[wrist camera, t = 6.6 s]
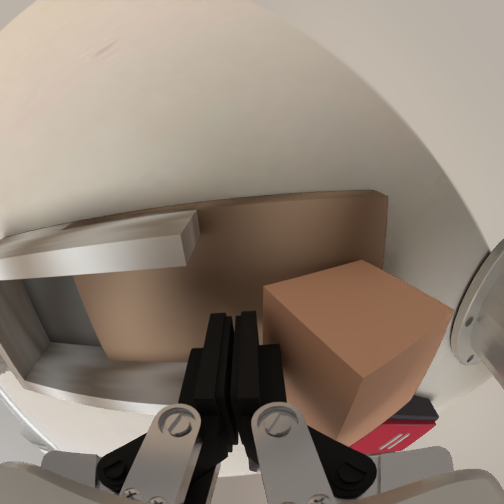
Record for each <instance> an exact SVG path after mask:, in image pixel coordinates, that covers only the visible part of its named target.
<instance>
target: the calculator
mask: <svg viewBox="0 0 504 504" xmlns="http://www.w3.org/2000/svg"><path fill="white" fill-rule="evenodd" d="M438 418H439V416H438V414H437V412H436V411H435V409H434V407H433V405H432V404H431V402H430V400H429V399H427V398H422V397H418V396H414V395H413V397H412V399H411V400H410V401H409V402H408V403H407V404H406V405H404V406H403V407H402V408H401V409H400V410H398V411H397V412H396V413H395V414H393V415H392V416H391V417H390V418H388V419H387V420H386V421H385V422H383V423H382V424H381V425H379V426H378V427H377V428H375V429H374V430H373V431H371V432H370V433H368V434H367V435H365V436H364V437H363V438H361V439H360V440H358V441H357V442H355V443H354V444H352V445H351V446H349V447H350V448H352V449H354V450H356V451H358V452H361V453H363V454H365V455H367V456H368V457H373V456H380V454H385V453H394V452H395V451H401V450H403V449H405V448H406V447H407V446H409V445H410V444H412V443H413V442H415V441H416V440H417V439H419V438H420V437H421V436H423V435H424V434H425V433H427V432H428V431H429V430H430V429H432V428H433V427H434V426H435V425H436V423H435V421H436V420H437V419H438ZM248 459H249V469H250V471H254V472H257V473H258V474H261V472H260V467H259V465H258V464H256V463H255V462H254V461H252V460H251V459H250V458H248Z"/></svg>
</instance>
